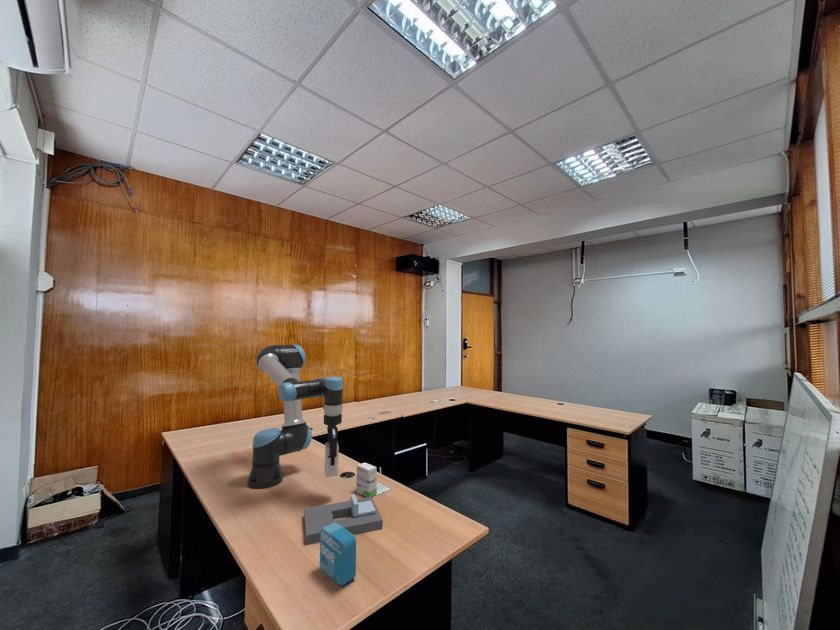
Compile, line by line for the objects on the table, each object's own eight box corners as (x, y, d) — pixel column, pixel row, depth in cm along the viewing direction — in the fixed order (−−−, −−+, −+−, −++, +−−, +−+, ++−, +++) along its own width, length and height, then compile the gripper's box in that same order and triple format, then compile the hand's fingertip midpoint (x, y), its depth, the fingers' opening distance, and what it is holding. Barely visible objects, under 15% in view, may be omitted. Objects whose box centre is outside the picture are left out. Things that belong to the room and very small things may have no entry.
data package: (319, 567, 99) (320, 526, 99) (332, 560, 102) (333, 520, 103) (342, 588, 91) (343, 543, 91) (356, 579, 94) (356, 536, 95)
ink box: (377, 494, 144) (377, 466, 145) (368, 498, 140) (368, 470, 141) (364, 488, 149) (364, 461, 150) (355, 492, 146) (356, 464, 146)
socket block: (304, 516, 126) (304, 508, 126) (371, 504, 135) (371, 496, 136) (306, 544, 109) (306, 535, 110) (382, 528, 119) (382, 519, 119)
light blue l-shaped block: (350, 506, 128) (350, 494, 128) (371, 502, 131) (371, 491, 131) (354, 516, 120) (354, 504, 120) (375, 512, 123) (375, 500, 123)
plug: (324, 472, 141) (325, 442, 141) (336, 470, 143) (337, 441, 143) (325, 477, 136) (326, 446, 137) (337, 475, 138) (338, 445, 139)
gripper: (322, 409, 147) (320, 462, 147) (325, 420, 131) (323, 480, 130) (339, 408, 150) (337, 460, 149) (345, 418, 133) (343, 477, 132)
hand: (331, 469), depth 140 cm, fingers closed on plug, 5 cm apart
